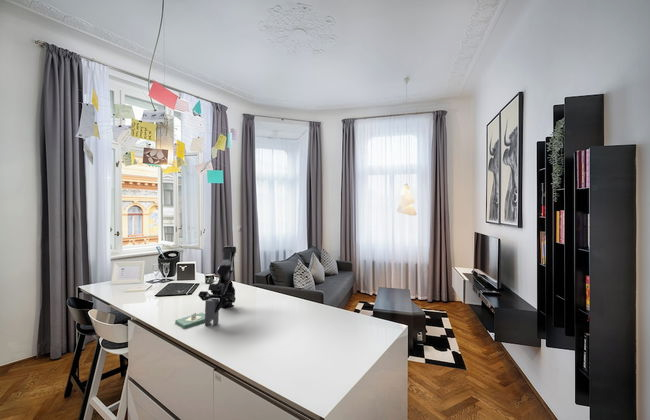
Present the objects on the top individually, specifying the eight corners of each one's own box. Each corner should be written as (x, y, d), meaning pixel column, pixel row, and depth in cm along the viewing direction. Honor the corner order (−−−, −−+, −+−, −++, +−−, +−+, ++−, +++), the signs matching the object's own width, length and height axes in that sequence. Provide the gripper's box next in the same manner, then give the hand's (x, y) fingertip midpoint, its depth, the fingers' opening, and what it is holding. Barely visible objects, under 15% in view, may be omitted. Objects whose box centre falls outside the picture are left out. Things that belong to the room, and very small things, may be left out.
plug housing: (209, 322, 137) (210, 298, 138) (218, 323, 137) (218, 298, 137) (204, 325, 133) (205, 300, 134) (214, 326, 133) (214, 301, 133)
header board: (201, 315, 147) (202, 308, 147) (211, 319, 141) (211, 312, 141) (175, 323, 136) (175, 315, 136) (184, 328, 130) (184, 320, 130)
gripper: (200, 275, 141) (186, 303, 129) (233, 277, 138) (221, 306, 127) (208, 286, 148) (196, 313, 137) (240, 288, 146) (229, 316, 135)
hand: (210, 312), depth 134 cm, fingers closed on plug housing, 5 cm apart
